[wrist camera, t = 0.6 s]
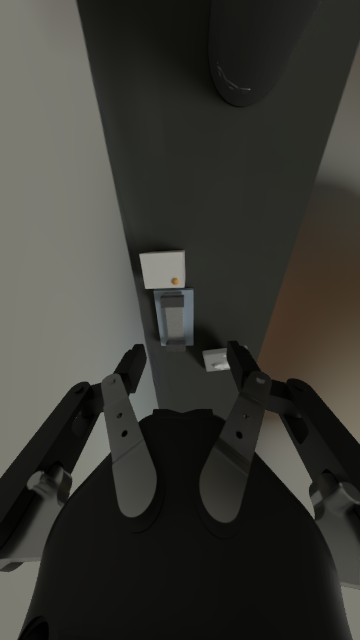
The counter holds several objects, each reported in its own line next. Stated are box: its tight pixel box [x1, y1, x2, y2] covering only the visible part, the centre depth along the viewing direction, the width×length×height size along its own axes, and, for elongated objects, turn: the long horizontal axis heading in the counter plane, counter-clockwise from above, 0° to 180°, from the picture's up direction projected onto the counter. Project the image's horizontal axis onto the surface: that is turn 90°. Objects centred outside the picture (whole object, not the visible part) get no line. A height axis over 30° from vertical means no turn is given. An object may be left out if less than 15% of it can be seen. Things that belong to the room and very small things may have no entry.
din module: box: [139, 250, 185, 289], centre depth 23 cm, size 5×6×7 cm
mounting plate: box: [154, 288, 193, 346], centre depth 31 cm, size 14×8×2 cm, turn 3°
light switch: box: [202, 346, 247, 371], centre depth 33 cm, size 8×6×14 cm
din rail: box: [160, 291, 186, 351], centre depth 29 cm, size 14×4×3 cm, turn 3°
